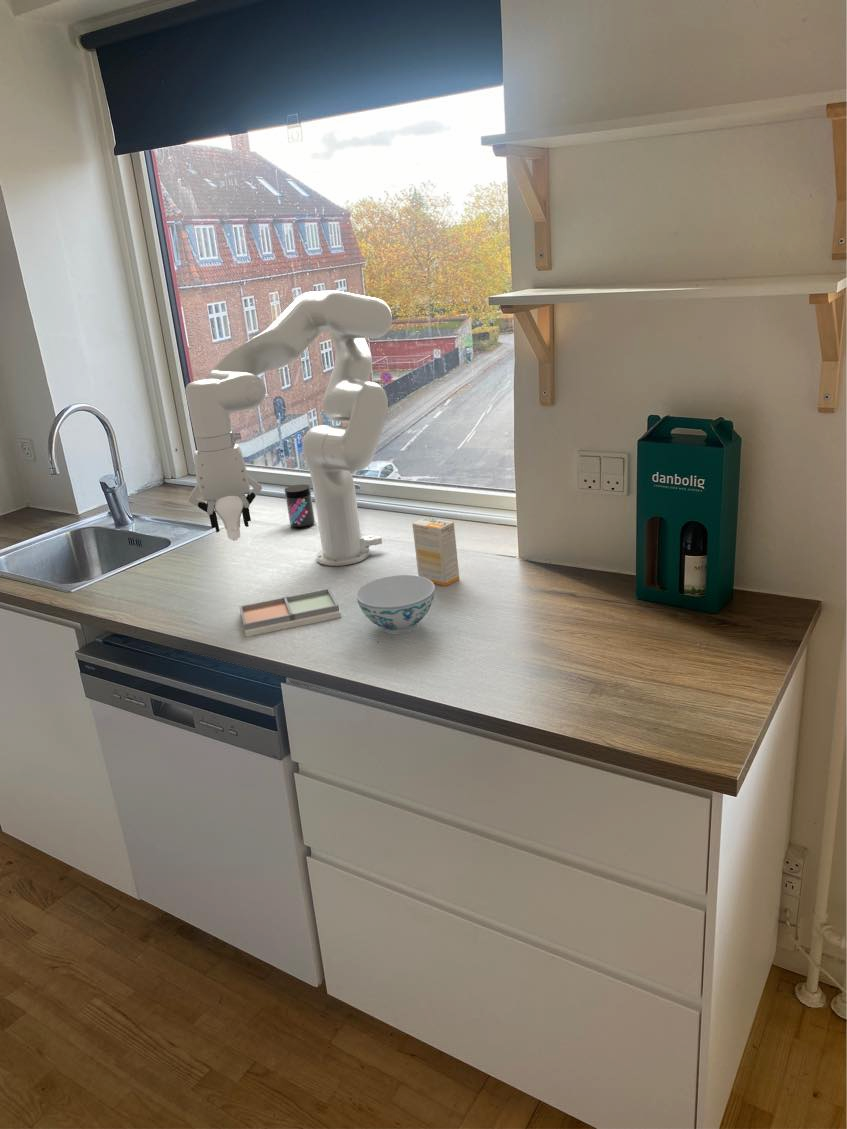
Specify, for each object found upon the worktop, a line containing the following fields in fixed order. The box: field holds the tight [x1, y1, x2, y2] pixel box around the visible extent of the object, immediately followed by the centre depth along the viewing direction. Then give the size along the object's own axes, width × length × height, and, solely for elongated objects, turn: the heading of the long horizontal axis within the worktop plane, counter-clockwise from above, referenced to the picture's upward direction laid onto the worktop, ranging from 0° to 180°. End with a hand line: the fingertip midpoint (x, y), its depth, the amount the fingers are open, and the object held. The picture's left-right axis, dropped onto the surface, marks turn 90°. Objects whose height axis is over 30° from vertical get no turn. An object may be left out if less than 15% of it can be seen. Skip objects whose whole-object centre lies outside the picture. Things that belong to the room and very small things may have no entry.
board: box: [238, 587, 342, 637], centre depth 177 cm, size 19×12×2 cm, turn 106°
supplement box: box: [412, 517, 460, 587], centre depth 185 cm, size 8×5×13 cm, turn 47°
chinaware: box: [355, 574, 436, 635], centre depth 166 cm, size 15×15×8 cm
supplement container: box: [284, 484, 316, 530], centre depth 231 cm, size 7×7×10 cm
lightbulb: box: [214, 496, 244, 542], centre depth 180 cm, size 6×6×11 cm
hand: (231, 526), depth 180 cm, fingers closed on lightbulb, 5 cm apart
